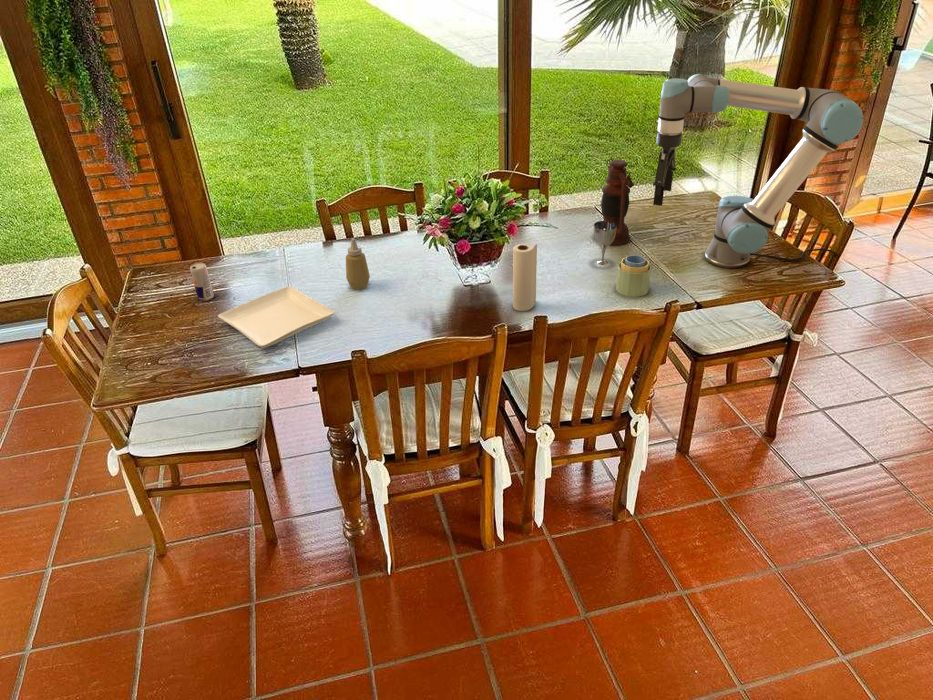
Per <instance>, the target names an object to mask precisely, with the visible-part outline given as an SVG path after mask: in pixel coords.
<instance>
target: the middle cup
mask: <svg viewBox="0 0 933 700" xmlns="http://www.w3.org/2000/svg"><path fill="white" fill-rule="evenodd" d="M626 257H627V256H625V257H623V258H622V259H621V261H620V262H621V269H622V270H624V271H626V272H629V273H644V272H647V271H648V267H649V264H650V261H649V260H648V259H647V258H645V259H646V260H645V266H644V267H639V268H635V267H629V266H626V265H625V259H626Z"/></svg>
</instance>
